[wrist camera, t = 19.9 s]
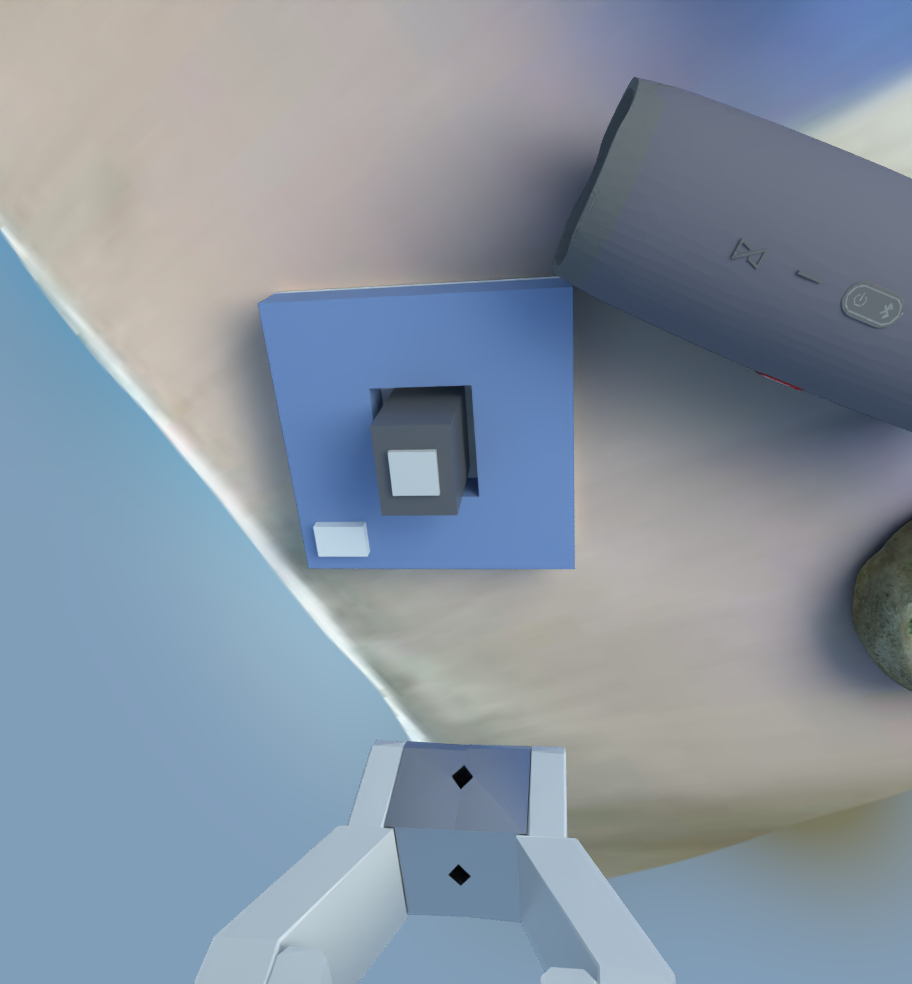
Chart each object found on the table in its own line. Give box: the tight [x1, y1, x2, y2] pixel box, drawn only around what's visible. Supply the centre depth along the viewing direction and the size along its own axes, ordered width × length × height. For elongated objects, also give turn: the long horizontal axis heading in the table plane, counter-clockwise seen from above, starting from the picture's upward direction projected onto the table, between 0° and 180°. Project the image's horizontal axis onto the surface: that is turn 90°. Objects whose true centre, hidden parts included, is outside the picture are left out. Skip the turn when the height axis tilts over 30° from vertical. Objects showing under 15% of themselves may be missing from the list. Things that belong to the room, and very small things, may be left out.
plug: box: [370, 386, 470, 516], centre depth 39 cm, size 5×4×6 cm
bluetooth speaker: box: [552, 77, 912, 432], centre depth 32 cm, size 23×9×10 cm, turn 69°
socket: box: [258, 276, 575, 569], centre depth 41 cm, size 16×16×4 cm
